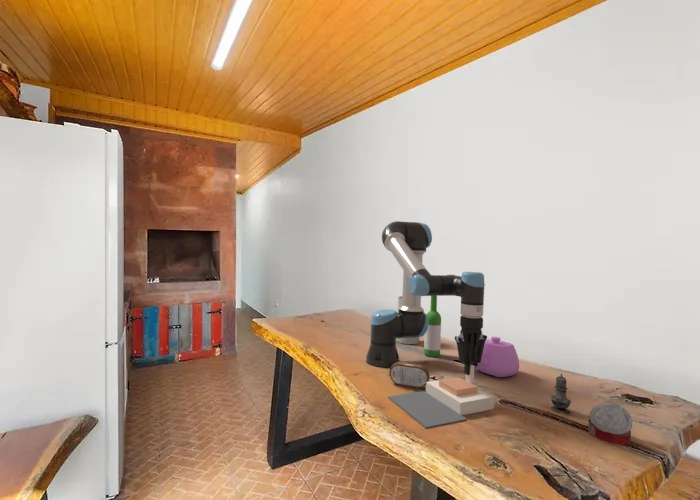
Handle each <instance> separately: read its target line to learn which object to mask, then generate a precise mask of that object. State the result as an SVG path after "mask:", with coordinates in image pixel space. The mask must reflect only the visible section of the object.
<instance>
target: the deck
mask: <svg viewBox="0 0 700 500" xmlns="http://www.w3.org/2000/svg"><path fill="white" fill-rule="evenodd" d="M452 378H453V377H452ZM452 378H450V379H452ZM445 379H446V378H444V379H443V380H445ZM439 380H440V379H438V380H431V381H430V380H429V381H428V382H426V386H425V392H426V393H428V394H430V395H431V396H433V397H434V398H436V399H437V400H439V401H440V402H442V403H443V404H445V405H446V406H448V407H449V408H451V409H453V410H454V411H456V412H457V413H459V414H460V415H462V416H465V415H470V414H476V413H482V412H486V411H491V410H494V409H495V407H494V406H495V396H493V395H492V394H490V393H488V392H486V391H483V390H482V389H480V388H478V393H473V394H467V395H461V396H455V395H453V394H452V393H450V392H448V391H446V390H445V389H443V388H441V387H440V386H439Z"/></svg>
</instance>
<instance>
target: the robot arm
mask: <svg viewBox="0 0 700 500" xmlns="http://www.w3.org/2000/svg"><path fill="white" fill-rule="evenodd" d="M381 241H382V245H383V246H384V248H385V249H386V250H387V251H389V252H391V254H392V255H393V256H394V258H395V260H396V261H397V263H398V264H399V266H400V268H401V269H402V270H403V272H402V273H403V274H402V275H403V276H402V305H401V306H400V307H399V312H398V310H396V309H387V308H386V309H380V310H379V309H378V310H375V311H374V312H373V313H372V314H371V318H370V342H369V347H368V350H367V354H366V355H365V361H366V363H367V364H368V365H370V366H375V367H379V368H380V367H381V368H391V366H392V365H393V364H394V363H396V362H400V355H399V353H398V350H397V349H398V348H397V338H416V337H419V338H421V337H423V336H425V333H426V332H427V329H428V319H427V318H428V317H427V315H426V314H427V313H426V312H424V311H425V310H424V308H423V307H422V305H421V304H422V303H421V301H422V297H431V296H437V297H439V296H444V297H445V296H447V297H449V296H451V297H452V296H453V297H454V296H455V297H460V316H459V317H460V319H459V326H460V327H461V329H460V334H459V335H458V336H457V335H455V336H454V340H455V343H456V347H457V353H458V358H459V363H460V364H462V365H464V368H463V370H464V371H463V372H464V374H465V375H464V377H465V378H464V380H465V381H467V382H469V383H471V384H473V385H475V375H476V370H477V369H476V366H478V364H477V363H480V362H481V358H482V353H483V348H484V344H485V341H486V339H488V335H485V334H483V330H482V329H483V327H484V318H483V316H484V302H485V301H484V300H485V287H486V284H485V274H484V273H483V272H478V271H463V272H462V274H461V275H456V274H446V275H441V274H439V275H435V274H431V273H430V272H429V271H428V269H427V268H426V266H424V263H423V256H424V255H425V253H426V252H427V248H429V247H430V246H431V245H432V241H433V234H432V231H431V228H430V227H429V226H428V224H426V223H423V222H414V221H398V220H396V221H392V222H390V223H388V224H387V225H386V226H385V227H384V228H383V231H382V233H381ZM477 358H478V359H477Z"/></svg>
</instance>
